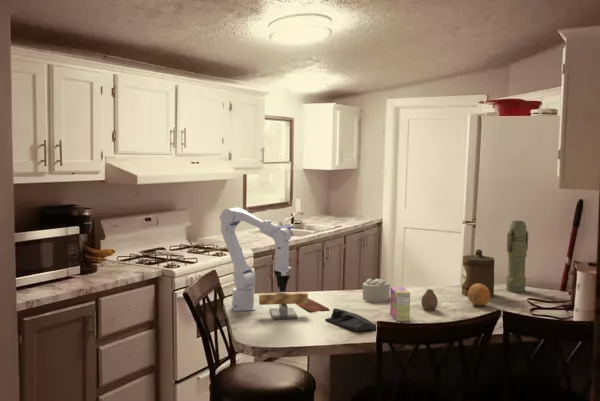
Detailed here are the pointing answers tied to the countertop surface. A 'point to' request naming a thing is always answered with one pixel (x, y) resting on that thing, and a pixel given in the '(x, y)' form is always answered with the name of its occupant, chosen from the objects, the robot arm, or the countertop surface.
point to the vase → (429, 300)
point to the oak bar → (283, 298)
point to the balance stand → (283, 313)
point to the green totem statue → (517, 256)
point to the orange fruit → (479, 294)
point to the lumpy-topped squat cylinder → (376, 290)
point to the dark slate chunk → (350, 321)
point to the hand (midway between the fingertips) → (281, 289)
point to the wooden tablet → (313, 306)
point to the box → (400, 303)
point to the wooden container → (478, 272)
